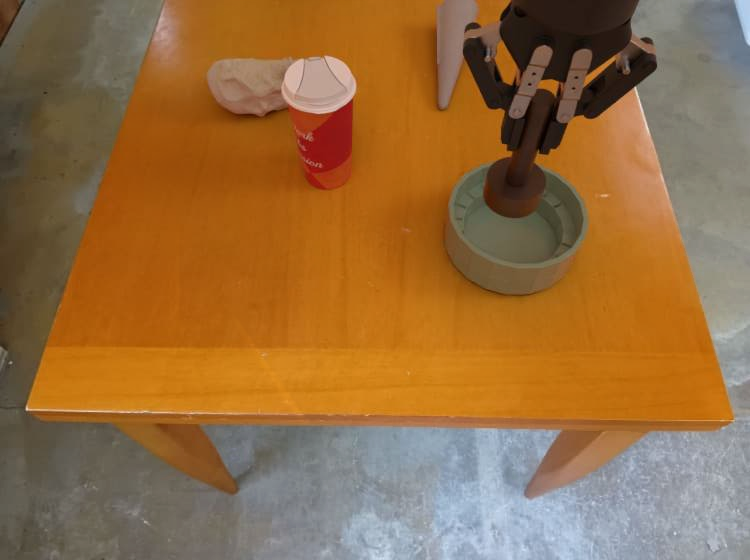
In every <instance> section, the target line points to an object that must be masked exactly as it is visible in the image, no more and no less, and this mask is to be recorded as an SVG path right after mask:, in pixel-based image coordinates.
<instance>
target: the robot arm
mask: <svg viewBox="0 0 750 560" xmlns="http://www.w3.org/2000/svg"><path fill="white" fill-rule="evenodd" d="M639 3H640V0H510V1H509V3H508V4H507V5H506V6H505V8H504V9H503V10H502V12H501V13H500V16H499V20H497V21H494V22H492V23H489V24H486V25H483V26H481V25H480V23H478V22H476V23H475V22H472V23H469V24H468V25H466V27H465V30H464V41H463V56H464V60H465V63H466V65H467V66H468V69H469V71H470V73H471V75H472V77H473V80H474V82H475V84H476V86H477V88H478V90H479V92H480V94H481V97H482V99H483V101H484V103H485V105H486V107H487V108H488V109H489V110H493V111H496V110H498V109H501V110H503V112H504V114H503V118H502V121H501V125H500V143H501V145H506V151H507V152H512V151H513V152H516V149H517V146H518V143H519V139H520V136H521V133H522V129H523V126H524V122H525V112H526V110H527V107H528V105H529V102H530V100H531V98H532V97H534V95H535V93H536V90H537V89H539V88H538V87H539V85H540V83H541V81H549V80H551V81H552V80H553V81H555V82H558V83H557V87H556V91H555V98H556V101H555V104H554V107H553V110H552V112H551V115H550V118H549V121H548V124H547V127H546V130H545V133H544V136H543V139H542V142H541V145H540V147H539V150H538V154H539V155H544V156H545V155H546V156H549V154H550V152H551V150H557V148H559V147H560V145H561V143H562V140H563V138H564V135H565V133H566V131H567V127H568V125H569V122H571V121H572V120H573V119H574V118H576V117H582V116H583V117H584V118H585V119H587V120H593V119H596V118H599V117H600V116H601V115H602V114H603V113H604V112H605V111H607V110H609V108H611V107H612V106H613V105H615V104H616V103H617V102H618V101H620V100H621V99H622V98H623V97H624V96H626V95H627V94H628V93H629V92H631V91H632V90H633V89H635V88H636V87H637V86H638V85H639V84H641V83H642V82H643V81H644V80H646V79H647V78H648V77H649V76H651V75H652V74H653V73H654V72H656V70H657V68H658V62H657V61H658V60H657V53H656V47H655V45H654V41H653V39H652V38H651V37H648V36H644V37H640V38H639V37H638V36H636V35H635V34H633V29H632V18H633V16H634V14H635V12H636V10H637V7H638V5H639ZM500 42H502V43H503V44H504V46H505V48H506V50H507V51H508V53H509V55H510V56H511V58H512V60H513V62H514V63H515V65H516V69H515V73H514V77H513V78H512V81H511V84H509V83H507V82H505V81H504V78H503V76H502V73H501V71H500V69H499V66H498V63H497V61H496V59H495V57H496V56H497V54H498V45H499V43H500ZM614 57H615V58H614ZM612 58H614V60H613V61H612V62H611V63H609V65H607V66H606V67H605V68H604V69H603V70H602V71H601V72H599V73H598V74H597V75H596V76H595V77H593V78H592V80H590V81H589V82H588V83H586V84H585V82H586V78H587V76H589V75H590V74H591V73H593V72H595V70H598V68H601V66H603V65H604V64H605V63H606V62H608V61H609V60H611V59H612Z"/></svg>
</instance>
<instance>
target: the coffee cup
mask: <svg viewBox="0 0 750 560" xmlns="http://www.w3.org/2000/svg"><path fill="white" fill-rule="evenodd" d="M323 56H324V57H320V56H311V57H308V59H307V60H305V62H304V59H305V58H299V59H300V60H298V61H296V62H295V63H293V64H292V65H291V66H290V67H289V68H288V70H287V71H286V73H285V77H284V81H283V83H282V87H281V92H282V95H283V97H284V99H285V101H286V102H287V104H288V111H289V115H290V120H291V125H292V128H293V132H294V137H295V140H296V144H297V148H298V151H299V152H298V153H299V157H300V161H301V164H302V169H303V172H304V175H305V178H306V180H307V181H308V183H309V184H310V185H311V186H313V187H314V188H317V189H320V190H325V191H327V190H335V189H339V188H340V187H342V186H343V185H345V184H346V183H347V182H348V181H349V179H350V178H351V174H352V163H353V161H352V160H353V125H354V96H355V94H356V92H357V81H356V78H355V77H354V75H353V74H352V71H351V69H350V67H349V66H348V65H347V64H346V63H345V62H344V61H342V60H340V59H339V58H336V57H334V56H330V55H323Z"/></svg>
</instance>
